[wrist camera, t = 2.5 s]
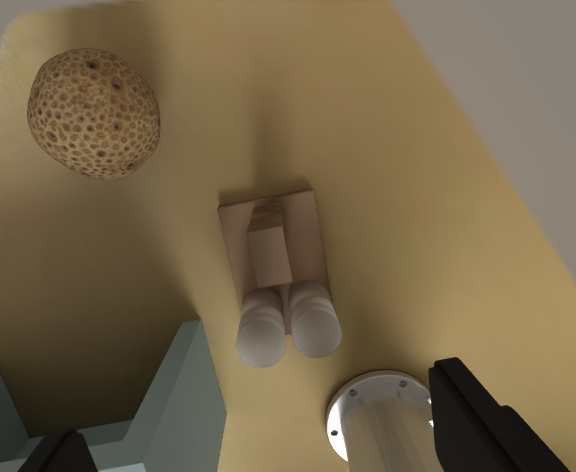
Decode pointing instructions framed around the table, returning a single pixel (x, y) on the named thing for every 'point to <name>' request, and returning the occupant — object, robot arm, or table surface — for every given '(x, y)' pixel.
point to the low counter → (147, 419)
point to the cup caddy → (279, 278)
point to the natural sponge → (94, 114)
